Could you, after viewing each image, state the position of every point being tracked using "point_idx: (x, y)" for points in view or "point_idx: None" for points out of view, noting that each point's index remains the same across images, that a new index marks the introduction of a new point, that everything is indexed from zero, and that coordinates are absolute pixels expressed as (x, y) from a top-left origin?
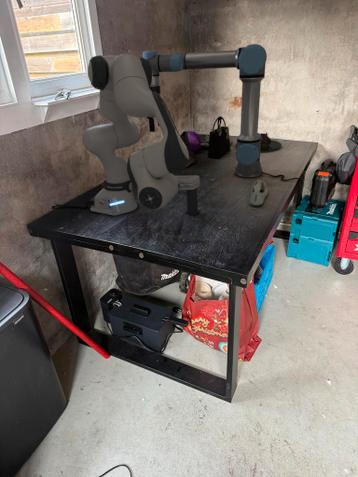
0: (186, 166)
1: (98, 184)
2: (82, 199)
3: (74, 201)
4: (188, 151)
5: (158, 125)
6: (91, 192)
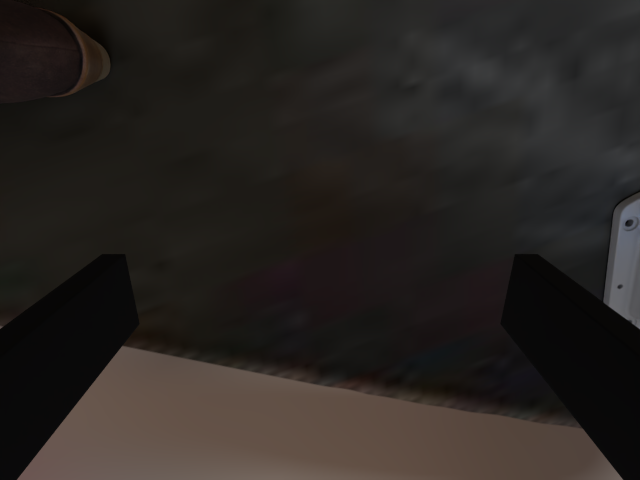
0: (100, 45)
1: (422, 402)
2: None
3: None
4: (7, 4)
5: (132, 321)
6: (511, 391)
